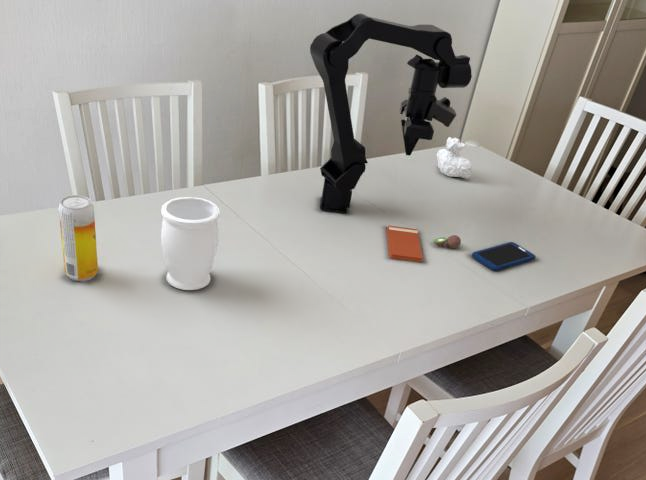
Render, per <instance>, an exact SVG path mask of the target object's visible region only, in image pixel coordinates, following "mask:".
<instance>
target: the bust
mask: <svg viewBox="0 0 646 480" xmlns="http://www.w3.org/2000/svg"><path fill="white" fill-rule="evenodd" d="M465 147H466V143H464V142H461V140H460V138H457V137H450V136H449V137H448V138H447V139H446V143H445V148H440V149H438V151H437V153H436V159H437V167H438V169H439V170H440V172H441V174H444V175H445V176H448V177H453V178H455V177H456V178H462V179H468V178H469V177H470V176H471V175H472V173H473V164H472V162H471V161H470V160H469V159H467V158H465V157H464V156H463V155H462V152H461V151H462V150H463V149H464V148H465Z"/></svg>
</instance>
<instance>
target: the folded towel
mask: <svg viewBox="0 0 646 480" xmlns="http://www.w3.org/2000/svg"><path fill="white" fill-rule="evenodd" d="M386 234H387V236H386V238H387V244H388V253H389V259H392V260H393V259H394V260H400V261H409V262H415V263H416V262H417V263H423V253H422V248H421V242H420V237H419V231H418V228H410V227H404V226H396V225H388V226H386Z"/></svg>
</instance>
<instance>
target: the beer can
mask: <svg viewBox="0 0 646 480" xmlns="http://www.w3.org/2000/svg"><path fill="white" fill-rule="evenodd" d="M58 215H59V217H58V218H59V227H60V236H61V237H60V238H61V247H62V257H63V266H64V267H63V268H64V273H65V275H66V276H68V277H69V279H71V280H72V281H74V282H75V281H77V282H87V281H90V280H92V279H94V278H95V276H96V275H97V274H98V272H99V263H98V249H97V234H96V218H95V206H94V204H93V203H92V200H91V198H90V197H87V196H85V195H79V194H71V195H67V196H64V197H62V198H61V199H60V202H59V205H58Z"/></svg>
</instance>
